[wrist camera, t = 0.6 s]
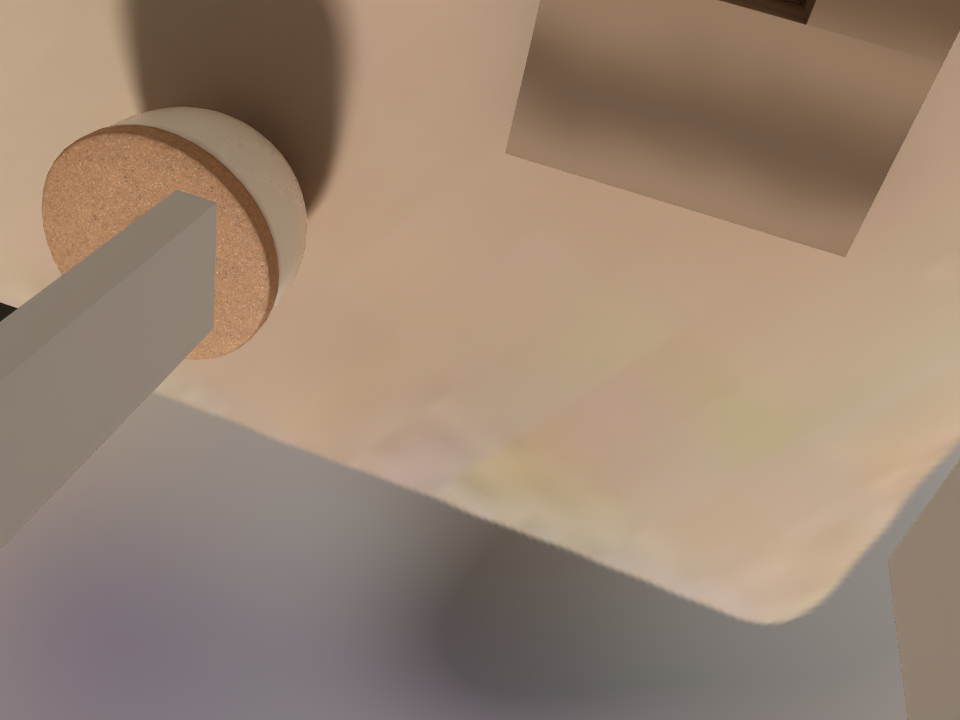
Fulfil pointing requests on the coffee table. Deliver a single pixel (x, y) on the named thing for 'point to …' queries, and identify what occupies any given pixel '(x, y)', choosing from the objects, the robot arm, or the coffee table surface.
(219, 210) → the lidded jar
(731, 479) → the coffee table surface
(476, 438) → the coffee table surface
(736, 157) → the hole block
